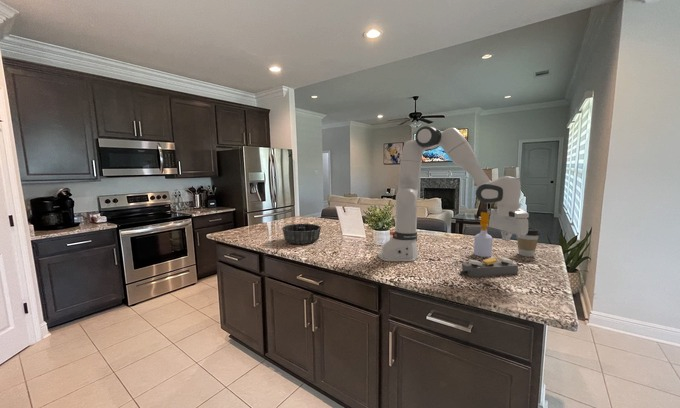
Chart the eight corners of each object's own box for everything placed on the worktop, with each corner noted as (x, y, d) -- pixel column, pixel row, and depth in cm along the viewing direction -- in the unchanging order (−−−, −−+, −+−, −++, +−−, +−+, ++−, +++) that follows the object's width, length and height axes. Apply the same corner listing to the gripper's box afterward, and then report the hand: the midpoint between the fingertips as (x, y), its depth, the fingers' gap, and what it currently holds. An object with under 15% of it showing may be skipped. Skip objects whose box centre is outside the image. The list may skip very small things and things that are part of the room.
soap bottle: (473, 255, 160) (475, 212, 157) (474, 251, 168) (476, 210, 165) (491, 258, 156) (494, 213, 153) (491, 253, 164) (493, 211, 161)
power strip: (465, 277, 127) (465, 268, 127) (456, 272, 134) (456, 263, 134) (517, 273, 132) (518, 264, 132) (506, 268, 139) (506, 259, 139)
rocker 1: (472, 264, 130) (473, 261, 129) (468, 261, 133) (468, 259, 133) (482, 265, 131) (482, 263, 130) (477, 263, 134) (478, 260, 134)
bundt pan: (329, 239, 199) (328, 225, 197) (305, 248, 176) (304, 232, 175) (299, 235, 212) (299, 222, 211) (274, 243, 190) (273, 228, 189)
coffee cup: (531, 252, 167) (533, 227, 165) (542, 258, 155) (545, 231, 154) (510, 251, 168) (512, 226, 166) (520, 257, 156) (522, 230, 155)
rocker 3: (503, 261, 132) (504, 259, 132) (498, 259, 136) (498, 257, 135) (512, 263, 133) (513, 260, 133) (507, 261, 137) (507, 258, 137)
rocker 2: (487, 265, 131) (487, 262, 131) (482, 262, 134) (482, 260, 134) (497, 262, 132) (496, 259, 132) (492, 260, 135) (491, 257, 135)
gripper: (486, 208, 141) (484, 235, 143) (519, 214, 121) (517, 246, 123) (497, 208, 142) (495, 235, 144) (532, 214, 122) (529, 245, 124)
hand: (506, 240), depth 133 cm, fingers closed
